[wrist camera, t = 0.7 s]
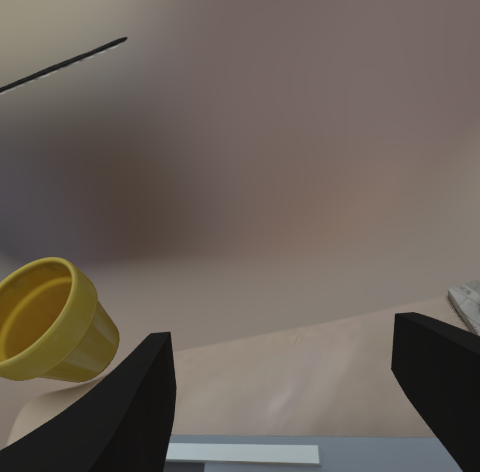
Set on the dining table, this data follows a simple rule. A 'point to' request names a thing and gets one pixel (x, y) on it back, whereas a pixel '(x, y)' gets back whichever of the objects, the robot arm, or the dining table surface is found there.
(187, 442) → the channel
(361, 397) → the dining table surface
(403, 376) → the robot arm
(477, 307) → the packaged product
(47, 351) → the plant pot
